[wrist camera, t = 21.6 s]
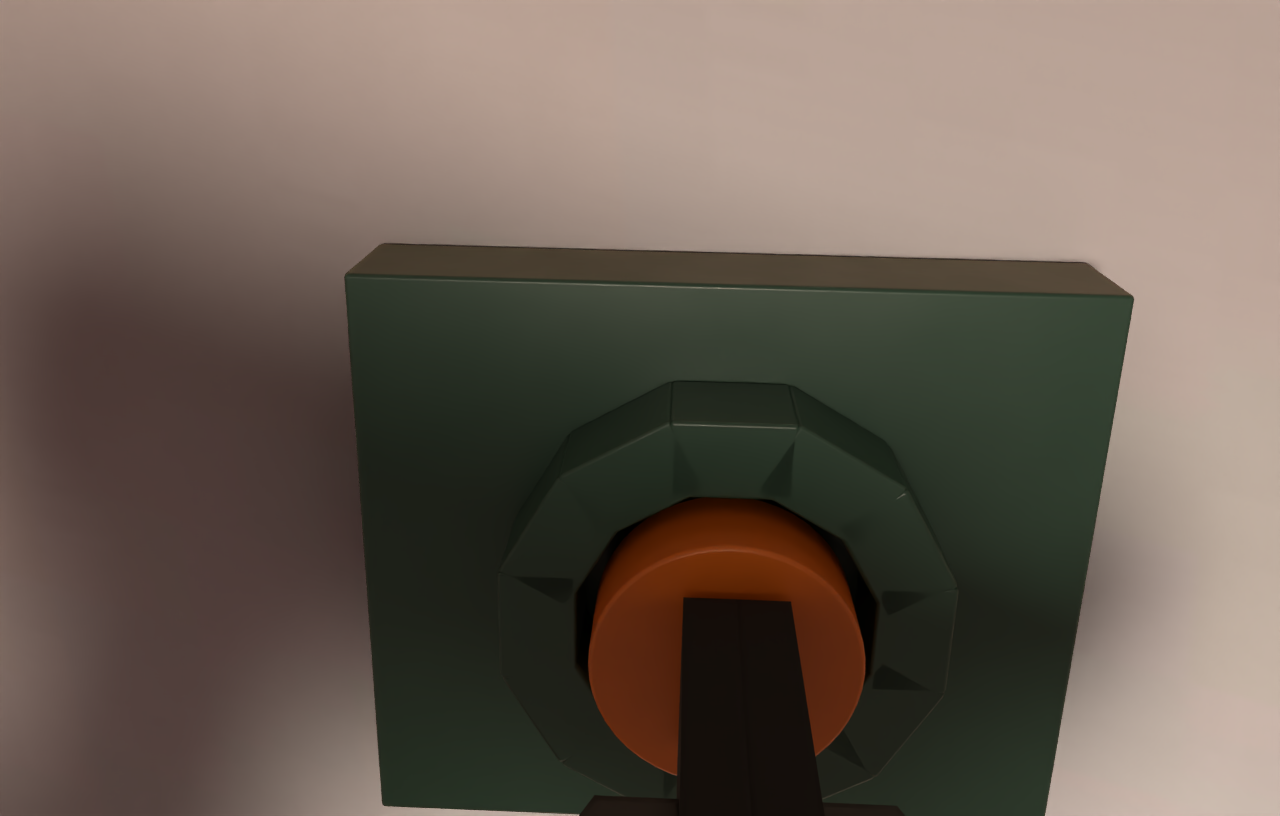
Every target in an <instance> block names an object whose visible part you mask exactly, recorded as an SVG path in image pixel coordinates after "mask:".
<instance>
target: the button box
mask: <svg viewBox="0 0 1280 816" xmlns="http://www.w3.org/2000/svg"><path fill="white" fill-rule="evenodd" d="M344 278H345V292H346V306H347V320H348V334H349V348H350V362H351V376H352V390H353V404H354V418H355V432H356V446H357V460H358V473H359V487H360V501H361V515H362V529H363V543H364V557H365V571H366V585H367V599H368V613H369V627H370V641H371V655H372V669H373V683H374V697H375V711H376V725H377V739H378V753H379V767H380V781H381V794H382V804H383V805H384V806H394V807H418V808H441V809H465V810H488V811H512V812H535V813H559V814H581V812H582V811H583V810H584V808H585V807H586V806H587V804H588V803H589V802H590V800H591V799H592V798H593V796H594V795H602V796H625V797H647V798H670V799H677V776H676V775H673V774H670V773H668V772H666V771H663V770H661V769H659V768H657V767H655V766H653V765H651V764H650V763H648V762H646V761H645V760H643V759H641V758H640V757H639V756H637V755H636V754H635V753H634V752H632V751H631V750H630V749H628V748H627V747H626V746H625V745H624V744H623V743H622V742H621V741H620V740H619V739H618V738H617V737H616V735H615V734H614V733H613V731H612V730H611V729H610V727H609V726H608V725H607V723H606V722H605V720H604V718H603V716H602V715H601V713H600V711H599V709H598V707H597V705H596V702H595V699H594V697H593V694H592V690H591V686H590V681H589V672H588V655H589V645H590V638H591V632H592V625H593V619H594V612H595V605H596V599H597V592H598V588H599V584H600V579H601V576H602V574H603V571H604V569H605V566H606V564H607V562H608V561H609V559H610V557H611V555H612V554H613V552H614V550H615V549H616V548H617V547H618V545H619V544H620V543H621V541H622V540H623V539H624V538H625V537H626V536H627V535H628V534H629V533H630V532H631V531H632V530H633V529H634V528H635V527H637V526H638V525H639V524H641V523H642V522H643V521H645V520H646V519H647V518H649V517H651V516H652V515H654V514H656V513H658V512H660V511H662V510H664V509H666V508H668V507H671V506H673V505H676V504H678V503H682V502H685V501H689V500H693V499H698V498H705V497H709V498H739V499H754V500H759V501H763V502H766V503H769V504H772V505H774V506H777V507H780V508H782V509H784V510H786V511H788V512H790V513H792V514H794V515H795V516H797V517H798V518H800V519H801V520H803V521H804V522H806V523H807V524H809V525H810V526H811V527H812V528H813V529H814V530H815V531H817V532H818V533H819V534H820V535H821V536H822V537H823V539H824V540H825V541H826V542H827V543H828V544H829V546H830V547H831V548H832V550H833V551H834V553H835V555H836V556H837V558H838V559H839V561H840V564H841V566H842V568H843V570H844V572H845V575H846V579H847V582H848V586H849V589H850V593H851V597H852V601H853V605H854V608H855V612H856V616H857V620H858V624H859V627H860V631H861V635H862V639H863V643H864V650H865V658H866V661H865V678H864V683H863V689H862V692H861V695H860V698H859V701H858V704H857V706H856V708H855V710H854V712H853V714H852V716H851V718H850V720H849V721H848V723H847V724H846V726H845V727H844V728H843V730H842V731H841V733H840V734H839V735H838V736H837V737H836V738H835V739H834V740H833V741H832V743H831V744H830V745H829V746H827V747H826V748H825V749H824V750H823V751H821V752H820V753H819V754H818V755H817V756H815V757H816V763H817V769H818V776H819V782H820V789H821V795H822V801H823V802H826V803H848V804H871V805H893V806H898V807H899V809H900V810H901V811H902V812H903V813H904V815H905V816H1045V812H1046V806H1047V800H1048V795H1049V789H1050V783H1051V777H1052V771H1053V766H1054V760H1055V754H1056V748H1057V743H1058V737H1059V731H1060V725H1061V719H1062V714H1063V708H1064V702H1065V696H1066V690H1067V685H1068V679H1069V673H1070V667H1071V661H1072V656H1073V650H1074V644H1075V638H1076V633H1077V627H1078V621H1079V615H1080V609H1081V604H1082V598H1083V592H1084V586H1085V580H1086V575H1087V569H1088V563H1089V557H1090V552H1091V546H1092V540H1093V534H1094V528H1095V523H1096V517H1097V511H1098V505H1099V499H1100V494H1101V488H1102V482H1103V476H1104V470H1105V465H1106V459H1107V453H1108V447H1109V442H1110V436H1111V430H1112V424H1113V418H1114V413H1115V407H1116V401H1117V395H1118V389H1119V384H1120V378H1121V372H1122V366H1123V360H1124V355H1125V349H1126V343H1127V337H1128V332H1129V326H1130V320H1131V314H1132V308H1133V303H1134V297H1133V296H1132V295H1131V294H1129V293H1128V292H1126V291H1125V290H1124V289H1122V288H1121V287H1119V286H1118V285H1117V284H1115V283H1114V282H1112V281H1111V280H1110V279H1108V278H1107V277H1105V276H1104V275H1103V274H1101V273H1100V272H1098V271H1097V270H1096V269H1094V268H1093V267H1091V266H1090V265H1088V264H1086V263H1052V262H1016V261H979V260H943V259H907V258H870V257H834V256H797V255H761V254H725V253H688V252H652V251H616V250H579V249H543V248H506V247H470V246H434V245H397V244H381V245H379V246H378V247H377V248H375V249H374V250H373V251H372V252H371V253H370V254H368V255H367V256H366V257H365V258H364V259H362V260H361V261H360V262H359V263H358V264H357V265H355V266H354V267H353V268H352V269H351V270H350V271H348V272H347V273H346V274H345V277H344Z"/></svg>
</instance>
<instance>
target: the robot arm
mask: <svg viewBox="0 0 1280 816" xmlns="http://www.w3.org/2000/svg"><path fill="white" fill-rule="evenodd" d="M579 816H905V815H904V813H903V812H902V811H901V810H900V809H899V807H898V806H893V805H871V804H848V803H826V802H823V801H822V795H821V789H820V782H819V776H818V769H817V763H816V757H815V750H814V744H813V738H812V731H811V725H810V719H809V712H808V706H807V700H806V693H805V687H804V681H803V674H802V668H801V662H800V655H799V649H798V643H797V636H796V630H795V624H794V617H793V611H792V605H791V601H767V600H741V599H716V598H690V597H683V620H682V648H681V675H680V703H679V730H678V758H677V799H670V798H647V797H625V796H602V795H594V796H593V798H592V799H591V800H590V802H589V803H588V804H587V806H586V807H585V808H584V810H583V811H582V812H581V814H580V815H579Z"/></svg>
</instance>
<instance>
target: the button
mask: <svg viewBox="0 0 1280 816" xmlns="http://www.w3.org/2000/svg"><path fill="white" fill-rule="evenodd" d="M683 597H690V598H716V599H741V600H767V601H791V605H792V611H793V617H794V624H795V630H796V636H797V643H798V649H799V655H800V662H801V668H802V674H803V681H804V687H805V693H806V700H807V706H808V712H809V719H810V725H811V731H812V738H813V744H814V750H815V756H817V755H818V754H819V753H820V752H821V751H823V750H824V749H825V748H826V747H827V746H829V745H830V744H831V743H832V741H833V740H834V739H835V738H836V737H837V736H838V735H839V734H840V733H841V731H842V730H843V728H844V727H845V726H846V724H847V723H848V721H849V720H850V718H851V716H852V714H853V712H854V710H855V708H856V706H857V704H858V701H859V698H860V695H861V692H862V689H863V683H864V678H865V661H866V658H865V650H864V643H863V639H862V635H861V631H860V627H859V624H858V620H857V616H856V612H855V608H854V605H853V601H852V597H851V593H850V589H849V586H848V582H847V579H846V575H845V572H844V570H843V568H842V566H841V564H840V561H839V559H838V558H837V556H836V555H835V553H834V551H833V550H832V548H831V547H830V546H829V544H828V543H827V542H826V541H825V540H824V539H823V537H822V536H821V535H820V534H819V533H818V532H817V531H815V530H814V529H813V528H812V527H811V526H810V525H809V524H807V523H806V522H804V521H803V520H801V519H800V518H798V517H797V516H795V515H794V514H792V513H790V512H788V511H786V510H784V509H782V508H780V507H777V506H774V505H772V504H769V503H766V502H763V501H759V500H754V499H739V498H709V497H705V498H698V499H693V500H689V501H685V502H682V503H678V504H676V505H673V506H671V507H668V508H666V509H664V510H662V511H660V512H658V513H656V514H654V515H652V516H651V517H649V518H647V519H646V520H645V521H643V522H642V523H641V524H639V525H638V526H637V527H635V528H634V529H633V530H632V531H631V532H630V533H629V534H628V535H627V536H626V537H625V538H624V539H623V540H622V541H621V543H620V544H619V545H618V547H617V548H616V549H615V550H614V552H613V554H612V555H611V557H610V559H609V561H608V562H607V564H606V566H605V569H604V571H603V574H602V576H601V579H600V584H599V588H598V592H597V599H596V605H595V612H594V619H593V625H592V632H591V638H590V645H589V655H588V672H589V681H590V686H591V690H592V694H593V697H594V699H595V702H596V705H597V707H598V709H599V711H600V713H601V715H602V716H603V718H604V720H605V722H606V723H607V725H608V726H609V727H610V729H611V730H612V731H613V733H614V734H615V735H616V737H617V738H618V739H619V740H620V741H621V742H622V743H623V744H624V745H625V746H626V747H627V748H628V749H630V750H631V751H632V752H634V753H635V754H636V755H637V756H639V757H640V758H641V759H643V760H645V761H646V762H648V763H650V764H651V765H653V766H655V767H657V768H659V769H661V770H663V771H666V772H668V773H670V774H673V775H676V776H677V758H678V730H679V703H680V675H681V648H682V620H683Z"/></svg>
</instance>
